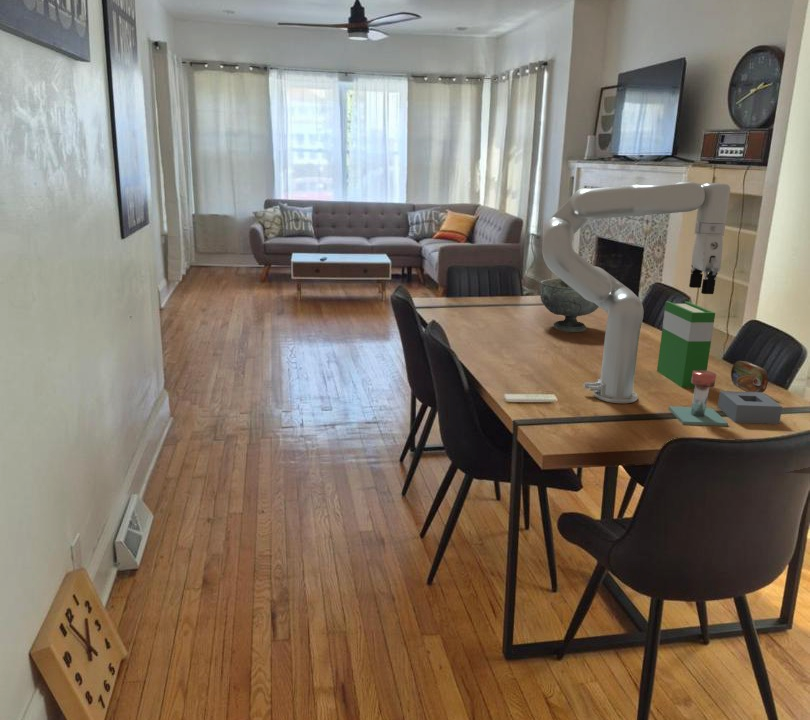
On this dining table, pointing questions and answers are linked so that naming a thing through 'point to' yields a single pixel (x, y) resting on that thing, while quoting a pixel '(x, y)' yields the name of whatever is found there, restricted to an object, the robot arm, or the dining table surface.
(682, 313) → the green cereal box
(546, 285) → the decorative bowl
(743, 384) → the tin
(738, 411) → the grey flat block
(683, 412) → the mat
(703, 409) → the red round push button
